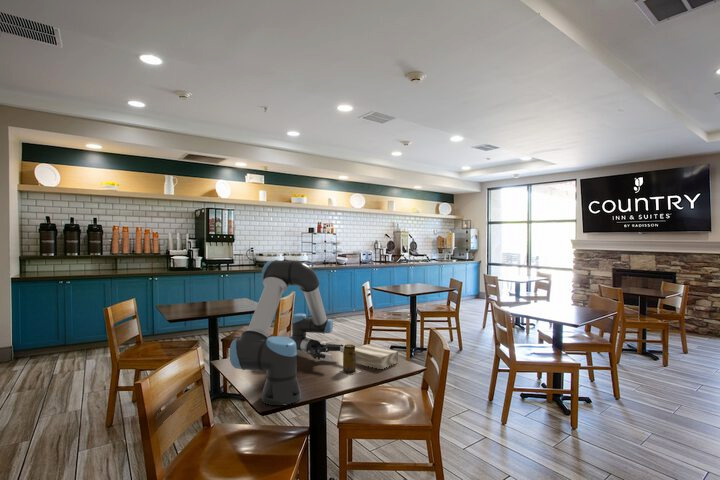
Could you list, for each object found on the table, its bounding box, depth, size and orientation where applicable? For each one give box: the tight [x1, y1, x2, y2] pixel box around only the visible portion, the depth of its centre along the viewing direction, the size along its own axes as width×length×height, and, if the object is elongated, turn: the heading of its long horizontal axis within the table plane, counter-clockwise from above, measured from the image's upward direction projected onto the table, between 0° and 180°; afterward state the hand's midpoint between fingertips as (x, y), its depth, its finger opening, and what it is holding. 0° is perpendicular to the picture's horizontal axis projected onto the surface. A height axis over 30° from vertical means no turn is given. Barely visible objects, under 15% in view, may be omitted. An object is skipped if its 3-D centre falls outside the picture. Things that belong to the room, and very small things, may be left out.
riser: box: [355, 343, 399, 370], centre depth 196 cm, size 14×20×6 cm
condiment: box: [339, 343, 362, 375], centre depth 183 cm, size 7×8×12 cm
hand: (340, 354), depth 188 cm, fingers open, 13 cm apart
